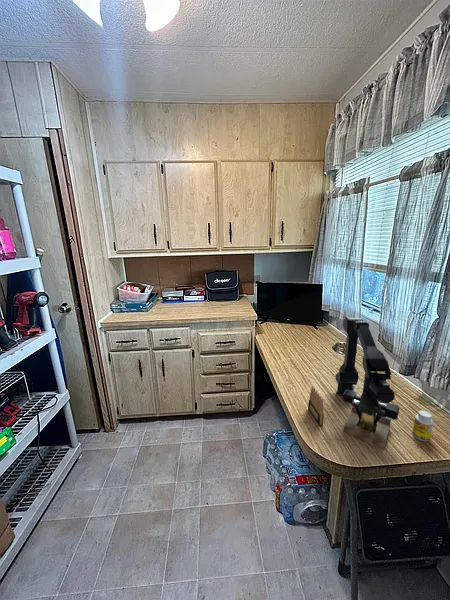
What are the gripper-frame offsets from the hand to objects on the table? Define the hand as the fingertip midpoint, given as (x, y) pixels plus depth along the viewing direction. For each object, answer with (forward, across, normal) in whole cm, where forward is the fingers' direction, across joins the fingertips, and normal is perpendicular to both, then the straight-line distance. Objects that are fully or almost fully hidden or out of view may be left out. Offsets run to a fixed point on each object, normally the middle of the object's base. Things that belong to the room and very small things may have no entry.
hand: (367, 422), depth 102 cm
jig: (+4, 0, 0) cm, 4 cm away
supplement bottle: (+4, +17, +10) cm, 20 cm away
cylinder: (+2, 0, 0) cm, 2 cm away
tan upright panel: (+4, -19, -4) cm, 20 cm away
